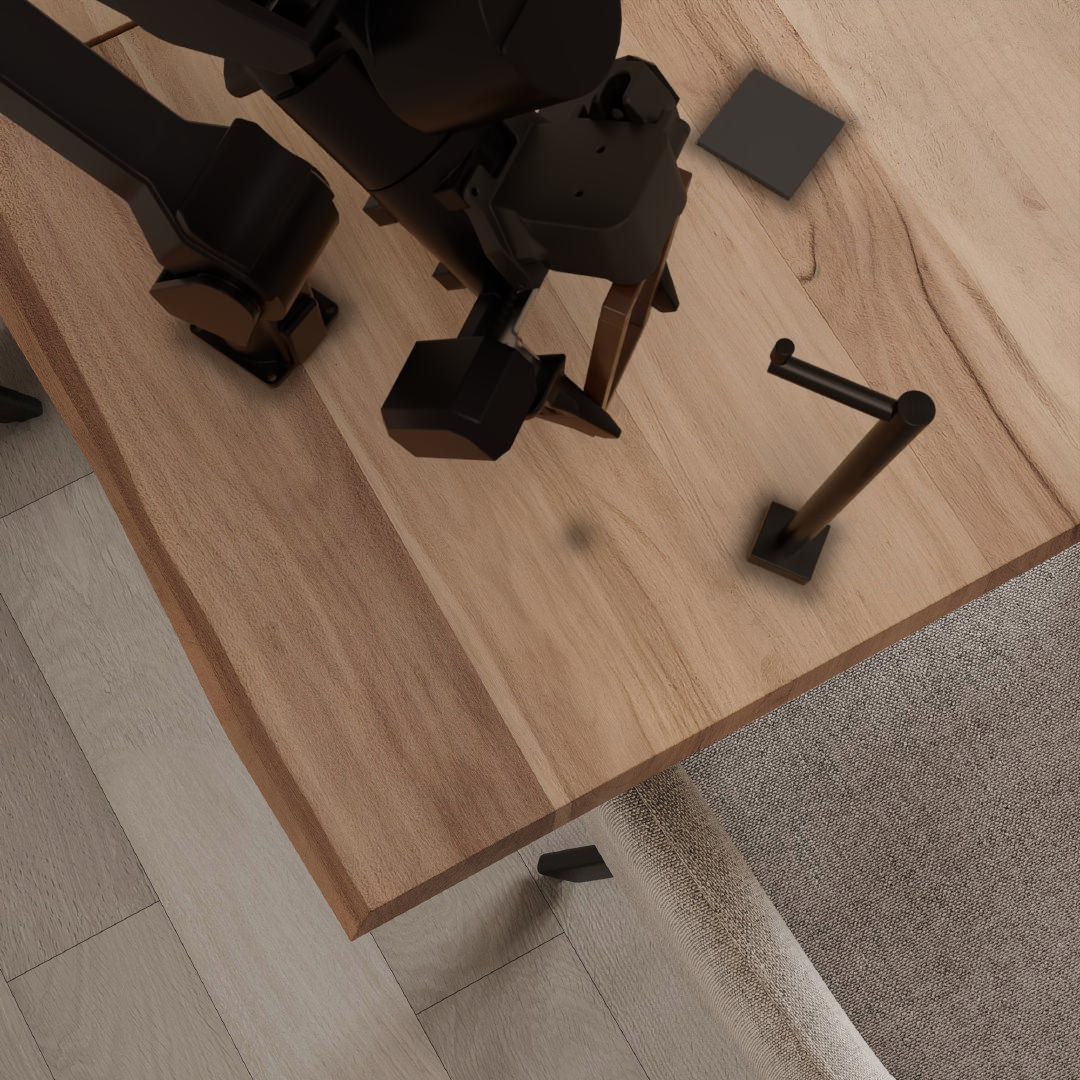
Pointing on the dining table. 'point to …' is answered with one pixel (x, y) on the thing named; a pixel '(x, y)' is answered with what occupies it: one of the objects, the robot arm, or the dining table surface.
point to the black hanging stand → (800, 535)
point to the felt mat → (771, 133)
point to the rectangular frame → (623, 326)
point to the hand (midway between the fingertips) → (642, 371)
